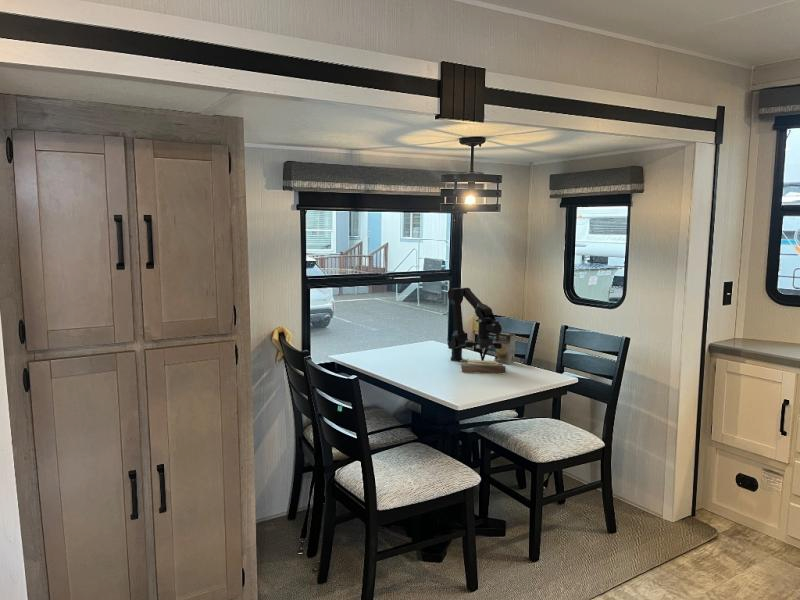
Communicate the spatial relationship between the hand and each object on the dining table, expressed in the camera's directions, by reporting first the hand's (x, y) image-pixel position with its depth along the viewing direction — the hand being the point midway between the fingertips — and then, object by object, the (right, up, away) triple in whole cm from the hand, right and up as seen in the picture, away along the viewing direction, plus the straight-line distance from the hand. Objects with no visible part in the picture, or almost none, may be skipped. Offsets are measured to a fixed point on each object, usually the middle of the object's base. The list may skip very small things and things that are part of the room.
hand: (482, 360), depth 312 cm
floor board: (0, -4, -3) cm, 5 cm away
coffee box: (+14, -3, +14) cm, 20 cm away
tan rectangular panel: (0, -2, -1) cm, 3 cm away
